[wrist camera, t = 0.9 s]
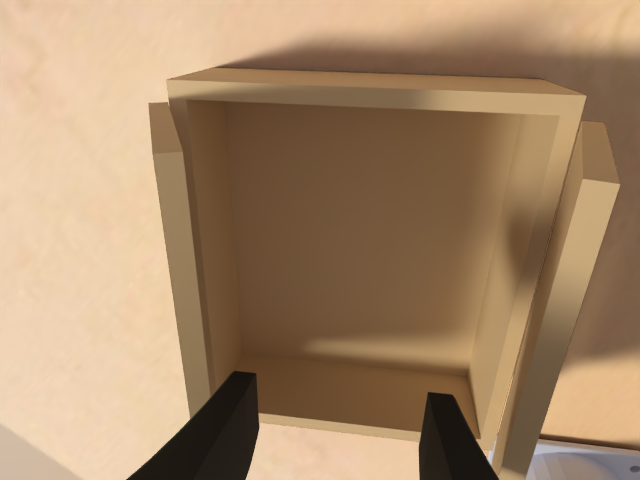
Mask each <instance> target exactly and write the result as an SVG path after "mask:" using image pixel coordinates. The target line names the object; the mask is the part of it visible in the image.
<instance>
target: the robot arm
mask: <svg viewBox="0 0 640 480" xmlns="http://www.w3.org/2000/svg"><path fill="white" fill-rule="evenodd" d="M258 432H259V413H258V394H257V375H256V373H251V372H242V371H233V372H232V373H231V374H230V375H229V376H228V377H227V379H226V380H225V381H224V382H223V383H222V385H221V386H220V387H219V388H218V389H217V390H216V392H215V393H214V394H213V395H212V396H211V397H210V398H209V400H208V401H207V402H206V403H205V404H204V405H203V406H202V407H201V409H200V410H199V411H198V412H197V413H196V414H195V415H194V416H193V417H192V418H191V419H190V420H189V421H188V422H187V423H186V424H185V425H184V427H183V428H182V429H181V430H180V431H179V432H178V433H177V434H176V435H175V436H174V437H173V438H172V439H170V440H169V441H168V442H167V443H166V444H165V445H164V446H163V447H162V448H161V449H160V450H159V451H158V452H157V453H156V454H155V455H154V456H153V457H152V458H151V459H149V460H148V461H147V462H146V463H145V464H144V465H143V466H142V467H141V468H139V469H138V470H137V471H136V472H135V473H134V474H132V475H131V476H130V477H129V478H128V479H126V480H245V479H246V477H247V474H248V471H249V468H250V465H251V461H252V457H253V453H254V449H255V444H256V440H257V436H258ZM497 436H498V435H497ZM497 436H496V440H497ZM496 440H495V444H496ZM495 444H494V448H493V451H490V450H488V454H487V458H486V456H485V455H484V453H483V451H482V450H481V448H480V446H479V444H478V442H477V441H476V439H475V437H474V435H473V433H472V431H471V429H470V427H469V425H468V423H467V421H466V419H465V417H464V415H463V413H462V411H461V409H460V407H459V405H458V403H457V400H456V398H455V397H454V396H453V395H452V394H443V393H434V392H428V394H427V400H426V406H425V413H424V419H423V425H422V431H421V437H420V443H419V473H420V480H499V478H498V477H497V475H496V473H495V472H494V470H493V468H492V467H491V464H492V459H493V454H494V449H495ZM525 480H640V451H637V450H628V449H620V448H611V447H603V446H594V445H586V444H577V443H569V442H560V441H552V440H543V439H538V442H537V445H536V448H535V451H534V454H533V457H532V460H531V463H530V466H529V470H528V473H527V476H526V479H525Z"/></svg>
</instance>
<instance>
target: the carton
mask: <svg viewBox="0 0 640 480" xmlns="http://www.w3.org/2000/svg"><path fill="white" fill-rule="evenodd" d="M166 81H167V90H168V98H169V106H170V111H171V115H172V118H173V121H174V125H175V128H176V131H177V134H178V138H179V141H180V144H181V147H182V151H183V158H184V166H185V175H186V184H187V193H188V202H189V211H190V220H191V229H192V237H193V246H194V255H195V264H196V273H197V282H198V291H199V299H200V308H201V317H202V326H203V335H204V344H205V353H206V361H207V370H208V379H209V388H210V397H211V396H212V395H213V394H214V393H215V392H216V390H217V389H218V388H219V387H220V386H221V385H222V383H223V382H224V381H225V380H226V379H227V377H228V376H229V375H230V374H231V373H232V372H233V371H242V372H251V373H256V375H257V394H258V413H259V423H267V424H275V425H284V426H292V427H300V428H308V429H317V430H325V431H333V432H341V433H350V434H358V435H366V436H374V437H382V438H391V439H399V440H407V441H415V442H420V437H421V431H422V425H423V419H424V413H425V406H426V400H427V394H428V392H434V393H443V394H452V395H453V396H454V397H455V398H456V400H457V403H458V405H459V407H460V409H461V411H462V413H463V415H464V417H465V419H466V421H467V423H468V425H469V427H470V429H471V431H472V433H473V435H474V437H475V439H476V441H477V442H478V444H479V446H480V448H481V450H490V451H493V448H494V444H495V440H496V436H497V432H498V429H499V425H500V421H501V417H502V414H503V410H504V406H505V402H506V398H507V395H508V391H509V387H510V383H511V380H512V376H513V372H514V368H515V364H516V361H517V357H518V353H519V349H520V346H521V342H522V338H523V334H524V331H525V327H526V323H527V319H528V315H529V312H530V308H531V304H532V300H533V297H534V293H535V289H536V285H537V281H538V278H539V274H540V270H541V266H542V263H543V259H544V255H545V251H546V247H547V244H548V240H549V236H550V232H551V229H552V225H553V221H554V217H555V214H556V210H557V206H558V202H559V198H560V195H561V191H562V187H563V183H564V180H565V176H566V172H567V168H568V164H569V161H570V157H571V153H572V149H573V146H574V142H575V138H576V134H577V130H578V127H579V123H580V119H581V115H582V112H583V108H584V104H585V100H586V97H587V96H586V95H583V94H581V93H578V92H575V91H573V90H570V89H567V88H564V87H562V86H559V85H556V84H553V83H551V82H548V81H545V80H543V79H533V78H504V77H475V76H446V75H417V74H388V73H359V72H330V71H301V70H272V69H243V68H214V67H213V68H209V69H206V70H202V71H198V72H194V73H190V74H186V75H183V76H179V77H175V78H171V79H167V80H166Z"/></svg>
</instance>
